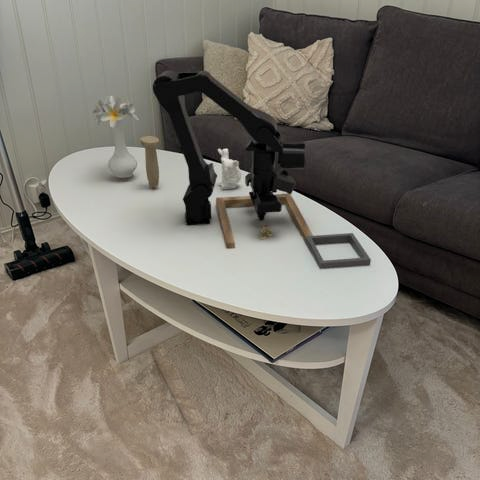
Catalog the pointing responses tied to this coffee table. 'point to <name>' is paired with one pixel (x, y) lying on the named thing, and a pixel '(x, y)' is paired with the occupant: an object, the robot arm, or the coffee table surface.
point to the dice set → (265, 228)
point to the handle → (151, 159)
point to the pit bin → (334, 239)
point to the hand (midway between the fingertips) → (261, 220)
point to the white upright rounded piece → (229, 171)
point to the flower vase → (117, 133)
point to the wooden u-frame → (247, 202)
